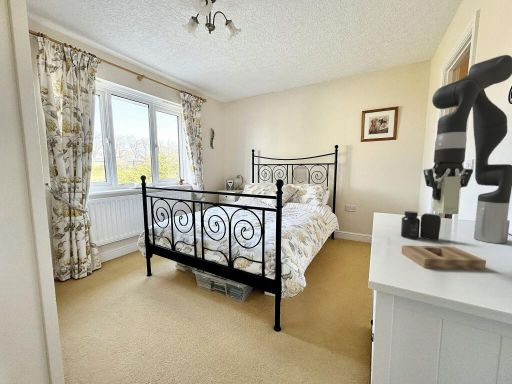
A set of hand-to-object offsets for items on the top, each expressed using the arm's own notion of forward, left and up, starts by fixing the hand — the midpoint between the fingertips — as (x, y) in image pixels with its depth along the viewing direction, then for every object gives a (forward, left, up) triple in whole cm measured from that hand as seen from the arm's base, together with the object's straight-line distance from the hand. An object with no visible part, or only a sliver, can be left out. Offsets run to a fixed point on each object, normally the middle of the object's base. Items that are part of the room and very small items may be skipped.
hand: (444, 199), depth 71 cm
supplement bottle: (-6, -26, -21) cm, 34 cm away
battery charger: (-14, -25, -21) cm, 36 cm away
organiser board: (0, 0, -21) cm, 21 cm away
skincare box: (0, 0, -5) cm, 5 cm away
